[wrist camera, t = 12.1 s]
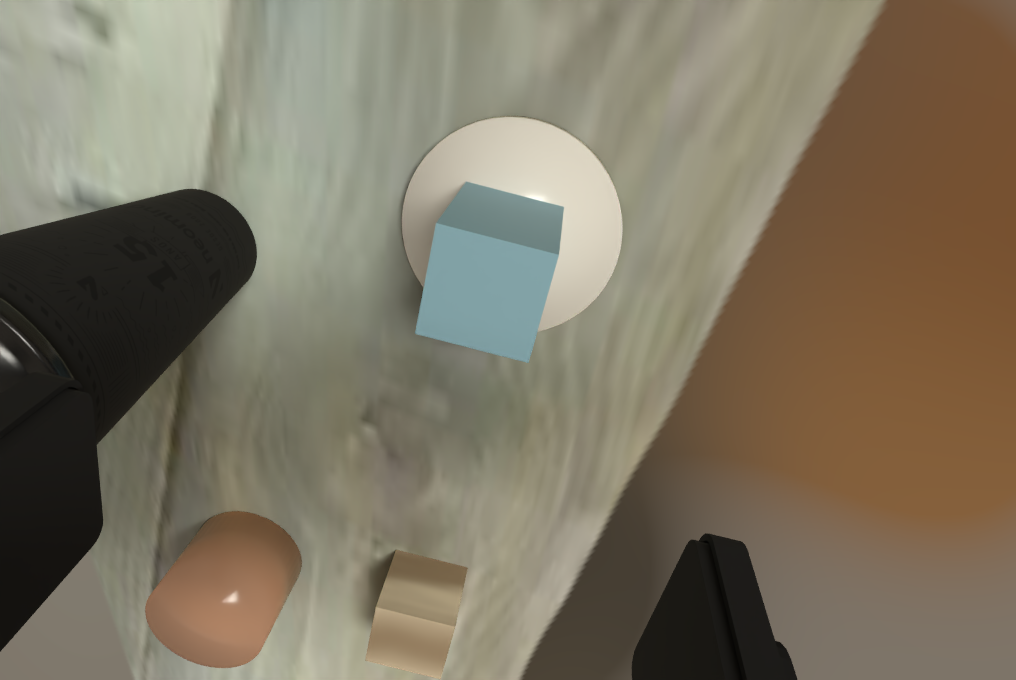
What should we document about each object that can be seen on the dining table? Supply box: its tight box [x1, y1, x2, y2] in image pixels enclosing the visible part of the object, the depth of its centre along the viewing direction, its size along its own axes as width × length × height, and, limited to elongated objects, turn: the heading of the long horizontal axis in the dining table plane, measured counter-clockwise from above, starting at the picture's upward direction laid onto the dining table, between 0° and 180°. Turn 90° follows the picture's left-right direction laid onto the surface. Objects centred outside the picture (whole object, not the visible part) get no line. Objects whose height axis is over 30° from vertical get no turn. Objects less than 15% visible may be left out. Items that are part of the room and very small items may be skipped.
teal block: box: [415, 182, 564, 363], centre depth 24 cm, size 4×4×6 cm
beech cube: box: [365, 550, 467, 679], centre depth 35 cm, size 4×4×4 cm
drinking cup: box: [0, 189, 257, 445], centre depth 20 cm, size 8×8×20 cm
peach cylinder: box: [145, 511, 302, 668], centre depth 35 cm, size 6×6×5 cm
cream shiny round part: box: [402, 116, 622, 331], centre depth 27 cm, size 9×9×1 cm
